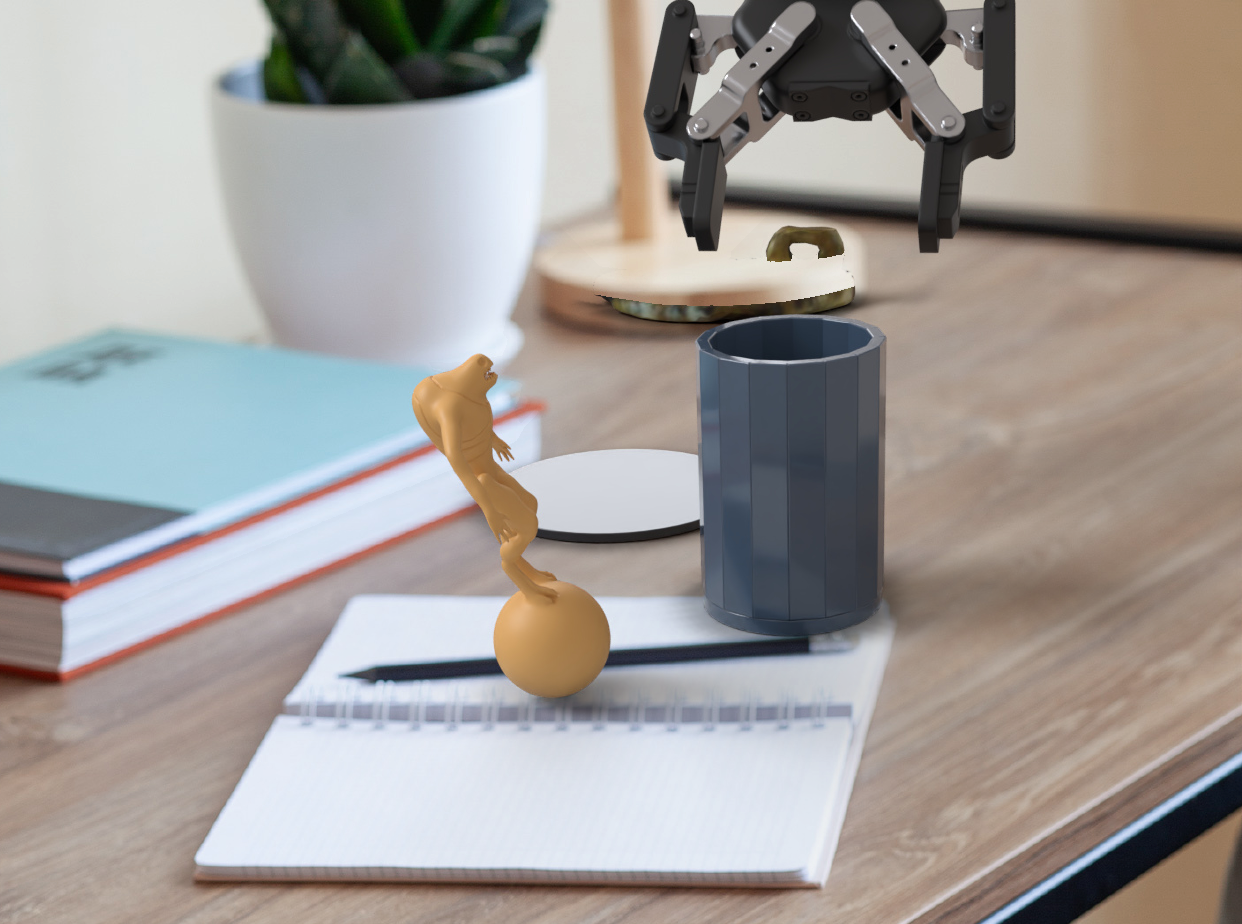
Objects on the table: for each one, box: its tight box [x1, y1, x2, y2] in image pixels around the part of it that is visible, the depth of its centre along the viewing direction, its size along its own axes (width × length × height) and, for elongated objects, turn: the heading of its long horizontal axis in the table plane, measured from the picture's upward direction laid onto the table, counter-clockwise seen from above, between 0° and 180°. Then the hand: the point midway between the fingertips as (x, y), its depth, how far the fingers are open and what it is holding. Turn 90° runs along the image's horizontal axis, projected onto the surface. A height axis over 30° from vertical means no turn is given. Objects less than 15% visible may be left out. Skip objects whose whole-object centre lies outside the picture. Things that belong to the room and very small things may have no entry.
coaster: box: [507, 448, 700, 543], centre depth 89 cm, size 11×11×1 cm
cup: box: [694, 314, 888, 636], centre depth 76 cm, size 7×7×10 cm
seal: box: [595, 225, 856, 323], centre depth 118 cm, size 9×5×15 cm
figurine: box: [411, 353, 612, 699], centre depth 69 cm, size 8×6×12 cm
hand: (815, 241), depth 80 cm, fingers open, 8 cm apart
